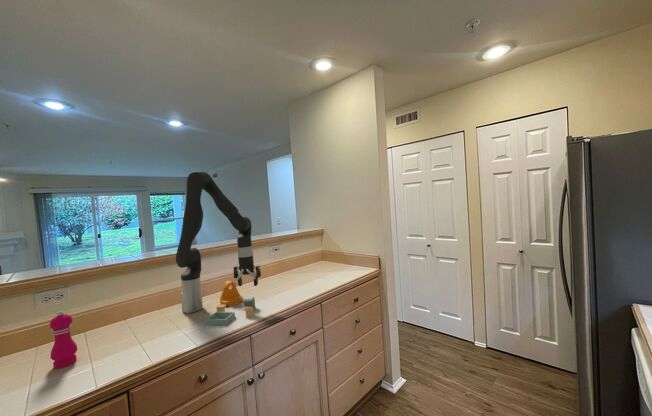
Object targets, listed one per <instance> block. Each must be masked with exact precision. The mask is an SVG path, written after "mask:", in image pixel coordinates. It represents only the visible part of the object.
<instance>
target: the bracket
mask: <svg viewBox="0 0 652 416" xmlns="http://www.w3.org/2000/svg"><path fill="white" fill-rule="evenodd" d="M242 301H243V302H244V297H243V296H242V295H241V294H240V292H239V290H238V289H237V285H236V283H235V282H233V281H232V280H227V281H225V282H224V283H223V288H222V291H221V294H220V298H219V303H220V305H226V306H229V307H231V306H234V305H238V304H240V302H242Z"/></svg>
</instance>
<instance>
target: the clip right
mask: <svg viewBox="0 0 652 416" xmlns="http://www.w3.org/2000/svg"><path fill="white" fill-rule="evenodd" d="M243 311H244V312H245V318H251V317H253V316H254V309H253V307H245V308H244V307H243Z"/></svg>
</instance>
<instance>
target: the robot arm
mask: <svg viewBox="0 0 652 416" xmlns="http://www.w3.org/2000/svg"><path fill="white" fill-rule="evenodd" d="M203 191H205V192H206V193H207V194H208V195H209V196H210V197H211V199H212V200H213V201H214V204H215V206H216V207H217V209H218V210H219V211H220V212H221V214H223V215H224V216H225V217H226V218H227V219H228V221H229V222H230V225H232V227H233V228H234V229H235V230H237V231H238V236H237V240H236V242H237V259H238V265H235V266H234V267H233V278H234V279H236V280H237V285H238V286H239V287H242V286H243V278H242V277H243V276H246V275H247V276H250V277H252V278H253V287H257V286H258V285H259V280H258V279H259V278H260V277H261V276H262V274H261V266H260V265H254V264H255V262H254V250H253V246H252V221H251V219H250V218H249V217H247V216H243V215H242V214H241V213H240V212H239V209H238V208H237V207H236V205H235V204H234V203H233V202H232V201H231V200H230V199H229V198H228V197H227V196H226V194H224V193H223V192H222V190H221V189H220V187H219V185H217V183H216V182H215V181H214V179H213V178H212V176H211V175H210V174H209V173H208V172H205V171H199V170H198V171H196V170H195V171H192V172H190V173H189V174H188V176H187V179H186V195H185V205H184V212H183V219H182V225H181V233H180V238H179V243H178V247H177V250H176V255H175V262H176V265H177V266H178V267H179V268H181V269H182V268H183V269H184V268H186V269H185V271H184V272H182V273H181V275H180V282H181V294H180V301H181V311H182V312H183V313H186V314H191V313H196V312H199V311H201V310H202V309H203V308H204V306H203V294H202V292H203V291H202V282H201V273H202V272H201V271H202V256H201V253H200V250H199V248H197V247H192V245H193V242H194V240H195V239H196V237H197V235H198V234H199V233H200V230H201V229H202V226H203V221H204V210H203V206H202V202H201V199H202V198H201V197H202V192H203ZM239 271H240V272H239Z"/></svg>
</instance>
